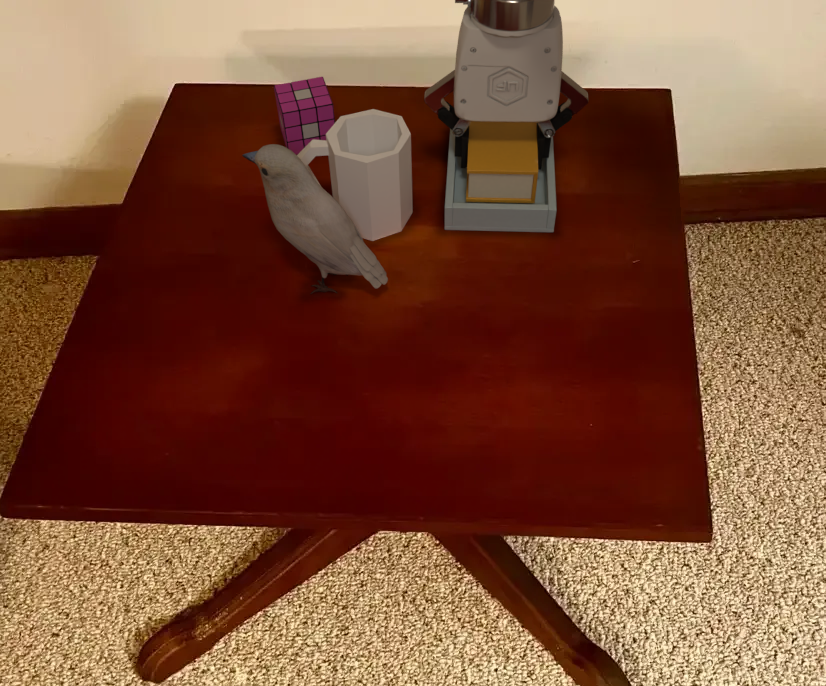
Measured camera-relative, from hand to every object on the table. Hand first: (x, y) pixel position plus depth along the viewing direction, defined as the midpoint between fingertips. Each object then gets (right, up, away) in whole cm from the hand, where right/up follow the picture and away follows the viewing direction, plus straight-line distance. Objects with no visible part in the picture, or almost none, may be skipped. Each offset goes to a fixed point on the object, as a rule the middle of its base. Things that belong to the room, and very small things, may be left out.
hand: (500, 159), depth 92 cm
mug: (-15, -6, 0) cm, 16 cm away
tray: (0, -2, +2) cm, 3 cm away
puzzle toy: (-21, +5, +9) cm, 23 cm away
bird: (-18, -14, -6) cm, 24 cm away
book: (0, -1, +1) cm, 1 cm away
